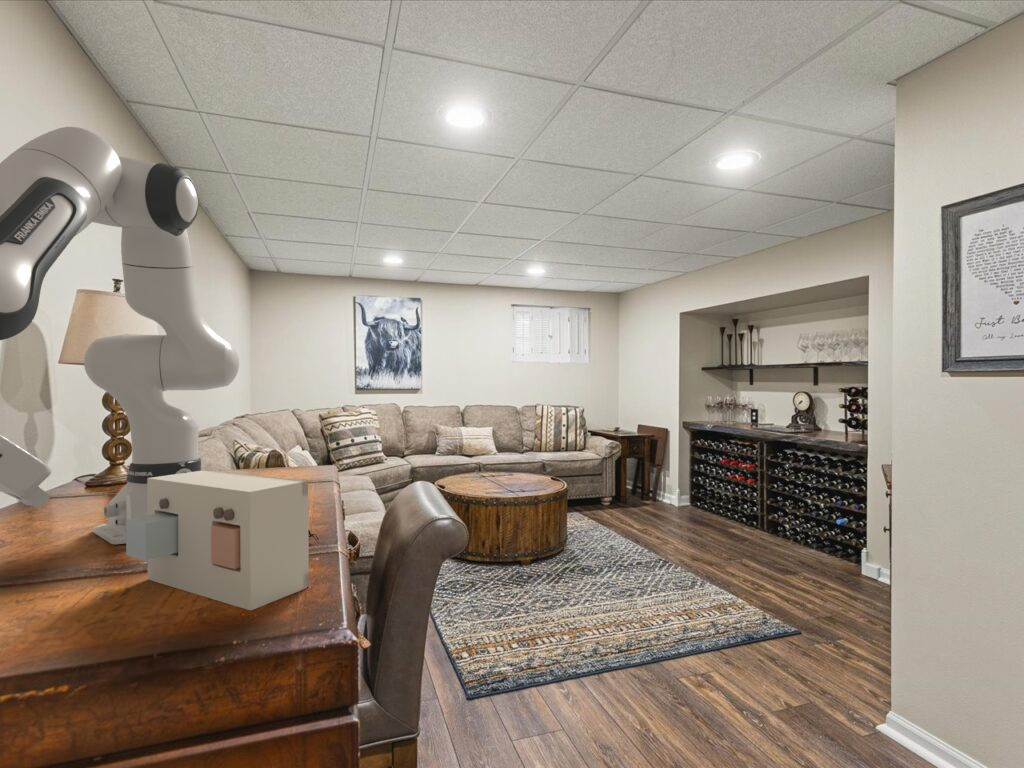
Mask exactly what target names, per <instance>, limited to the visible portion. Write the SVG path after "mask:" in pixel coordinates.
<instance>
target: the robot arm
mask: <svg viewBox="0 0 1024 768" xmlns="http://www.w3.org/2000/svg"><path fill="white" fill-rule="evenodd" d="M199 200H200V199H199V193H198V189H197V187H196V184H195V182H194V181H193V179H192V178H191V177H190V176H189V174H188V173H187V172H186V171H185V170H183V169H180V168H178V167H176V166H173V165H170V164H167V163H163V162H159V163H155V162H151V161H146V160H142V159H137V158H132V157H126V156H125V157H124V156H119V155H118V153H117V151H116V150H115V149H114V147H113V146H111V145H110V143H108V142H107V141H106V140H105V139H104V138H102V137H101V136H100V135H98V134H97V133H94V132H93V131H91V130H88V129H85V128H81V127H79V126H78V127H76V126H64V127H58V128H56V129H53V130H50V131H48V132H46V133H43V134H41V135H39V136H37V137H35V138H33V139H31V140H29V141H27V142H26V143H25V144H23V145H22V146H20V147H19V148H17V149H16V150H15V151H13V152H12V153H10V154H9V155H7V157H6V158H4V159H3V160H2V161H1V162H0V341H3V340H7V339H10V338H13V337H15V336H17V335H19V334H21V333H22V332H23V331H25V330H26V329H27V328H29V326H30V325H31V323H32V322H33V320H34V319H35V317H36V314H37V311H38V308H39V304H40V303H39V302H40V297H41V290H42V285H43V282H44V279H45V277H46V275H47V273H48V271H50V269H51V267H52V266H53V265H54V264H55V262H56V260H57V259H58V258H59V257H60V255H62V253H63V252H64V250H65V249H66V248H67V246H68V245H69V244H70V242H72V240H73V239H74V238H75V237H76V236H78V235H79V234H80V233H81V232H82V231H84V230H85V229H86V228H88V226H89V225H91V223H95V224H99V225H104V226H105V225H106V226H110V227H117V228H121V240H120V247H121V249H120V250H121V251H120V253H121V266H122V276H123V284H124V287H123V288H124V296H125V300H126V304H128V306H129V308H131V309H132V310H133V311H134V312H135V313H137V314H139V315H140V316H142V317H145V318H147V319H149V320H151V321H153V322H156V323H157V324H158V325H159V326H160V327H161V328H162V329H163V330H164V332H165V334H163V335H162V334H161V335H160V334H127V333H126V334H125V333H124V334H119V335H111V336H106V337H98V338H96V339H95V340H94V341H92V343H91V344H90V345H89V346H88V348H87V349H86V351H85V355H84V356H83V357H84V359H83V364H84V365H83V366H84V370H85V373H86V375H87V377H88V379H89V380H90V381H92V383H93V384H94V385H95V386H97V387H98V388H100V389H102V390H103V391H105V392H106V393H108V394H109V395H110V396H111V397H113V399H114V400H116V401H117V402H118V404H119V405H120V407H121V408H122V410H123V411H124V412H125V415H126V417H127V420H128V424H129V429H130V437H131V438H130V439H131V453H132V454H131V456H132V457H131V459H132V462H131V463H129V465H127V466H126V467H127V468H128V469H126V471H127V472H126V474H127V475H126V482H127V483H126V484H125V485H124V486H123V487H122V489H120V490H119V491H118V493H117V494H115V495H114V497H113V498H112V499H110V501H108V505H105V506H104V508H103V515H104V517H105V518H106V519H107V522H106V523H102V524H99V525H96V526H94V527H93V528H92V532H93V534H94V535H97V536H98V537H99V538H101V539H103V540H105V541H106V542H108V543H109V544H111V545H123V544H126V520H127V519H132V518H137V517H142V516H147V478H152V477H159V476H167V475H174V474H181V473H188V472H195V471H202V468H203V465H202V459H201V458H200V456H199V447H200V446H199V438H200V437H199V435H200V434H199V432H200V431H199V428H200V427H199V424H198V420H196V417H194V416H193V415H192V414H190V413H189V412H188V411H185V410H183V409H181V408H177V407H175V406H173V405H170V404H168V402H166V399H165V398H164V392H167V391H207V390H212V389H218V388H222V387H223V388H224V387H227V386H229V385H230V384H232V382H234V380H235V378H236V377H237V376H238V375H237V374H238V373H239V368H240V358H239V354H238V352H237V350H236V348H235V347H234V346H233V345H232V343H230V342H229V341H228V340H227V339H225V338H224V337H222V336H220V335H219V334H218V333H217V332H215V331H214V330H213V329H212V327H210V326H209V324H208V323H207V322H206V320H205V319H204V316H203V314H201V310H200V309H199V305H198V302H197V296H196V289H195V280H194V271H193V270H194V269H193V268H194V267H193V257H192V256H193V255H192V250H191V249H192V248H191V244H190V238H189V234H188V229H189V228H190V226H191V225H192V224H193V223H194V221H195V219H196V218H197V215H198V212H199V205H200V203H199ZM51 474H52V469H51V468H50V466H48V465H47V464H46V463H45V462H44V461H42V460H41V459H39V458H37V457H36V456H35V455H33V454H32V453H30V452H28V451H27V450H25V449H24V448H22V447H21V446H20V445H18V444H16V443H14V442H13V441H11V440H10V439H8V438H7V437H5V436H3V435H1V434H0V492H1V493H3V494H6V495H7V496H10V497H12V498H15V499H16V500H18V501H19V502H21V503H23V504H24V505H27V506H33V507H35V508H40V507H42V506H43V505H45V503H47V502H48V501H49V500H50V498H51V495H50V493H48V492H47V491H45V490H44V489H43V488H41V487H40V486H41V484H42V483H43V482H45V481H46V479H48V478H49V477H50V475H51Z"/></svg>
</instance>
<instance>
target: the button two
mask: <svg viewBox="0 0 1024 768" xmlns="http://www.w3.org/2000/svg"><path fill="white" fill-rule="evenodd" d="M211 563H213V564H217V565H221V566H225V567H229V568H233V569H236V568H240V567H241V562H240V526H239V525H234V524H228V523H219V524H215V525H211Z"/></svg>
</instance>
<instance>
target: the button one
mask: <svg viewBox="0 0 1024 768" xmlns="http://www.w3.org/2000/svg"><path fill="white" fill-rule="evenodd" d="M125 544H126V546H125V548H126V549H125V550H126V551H125V554H126V555H125V556H127V557H129V558H133V559H137V560H141V561H145V562H148V560H151V559H154V558H158V557H162V556H166V555H170V554H173V553H177V552H178V514H174V513H169V512H163V513H157V514H152V515H147V516H142V517H137V518H132V519H127V520H126V543H125Z"/></svg>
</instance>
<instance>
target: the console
mask: <svg viewBox="0 0 1024 768" xmlns="http://www.w3.org/2000/svg"><path fill="white" fill-rule="evenodd" d="M163 512H169V513H174V514H178V552H177V553H173V554H170V555H166V556H162V557H158V558H154V559H151V560H147V580H149V581H152V582H155V583H159V584H162V585H165V586H167V587H168V586H169V587H172V588H174V589H178V590H181V591H185V592H188V593H191V594H194V595H198V596H201V597H205V598H207V599H210V600H214V601H216V602H217V601H218V602H221V603H224V604H227V605H231V606H234V607H237V608H240V609H244V610H247V611H253V610H255V609H259V608H260V607H263V606H265V605H268V604H270V603H273V602H276V601H278V600H280V599H282V598H286V597H288V596H290V595H293V594H295V593H298V592H300V591H303V590H305V589H308V588H309V587H310V585H309V584H310V581H309V580H310V579H309V577H310V576H309V575H310V572H309V571H310V568H309V567H310V565H309V564H310V563H309V562H310V561H309V559H310V554H309V544H310V543H309V541H310V540H309V539H310V537H309V536H310V535H309V536H308V533H309V532H308V530H309V480H305V479H304V480H303V479H302V480H301V479H295V478H286V477H277V476H268V475H267V476H266V475H260V474H259V475H257V474H246V473H239V472H230V471H221V470H220V471H219V470H212V469H204V470H202V469H201V471H195V472H188V473H181V474H174V475H167V476H159V477H152V478H147V515H152V514H157V513H163ZM219 523H228V524H234V525H239V526H240V562H241V567H240V568H236V569H233V568H229V567H225V566H221V565H217V564H213V563H211V525H215V524H219ZM307 587H308V588H307Z"/></svg>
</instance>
